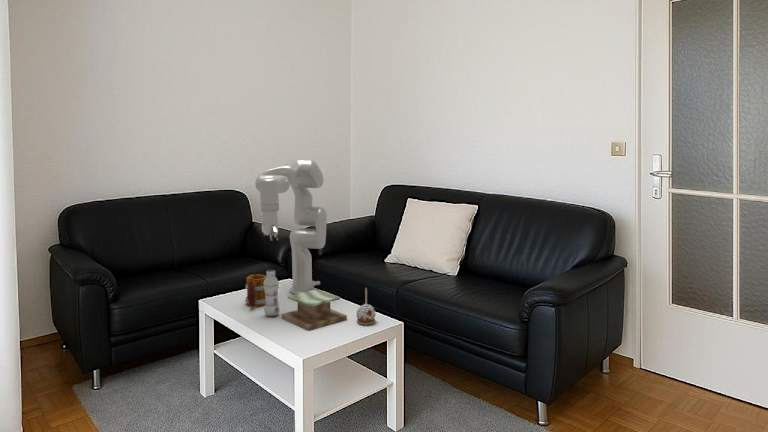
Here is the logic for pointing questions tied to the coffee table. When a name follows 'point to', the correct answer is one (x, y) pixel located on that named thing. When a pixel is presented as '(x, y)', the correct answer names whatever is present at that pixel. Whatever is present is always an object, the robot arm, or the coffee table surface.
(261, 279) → the mug
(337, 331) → the coffee table surface
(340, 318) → the walnut stand
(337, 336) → the coffee table surface
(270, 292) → the plastic bottle
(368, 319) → the decorative ornament
